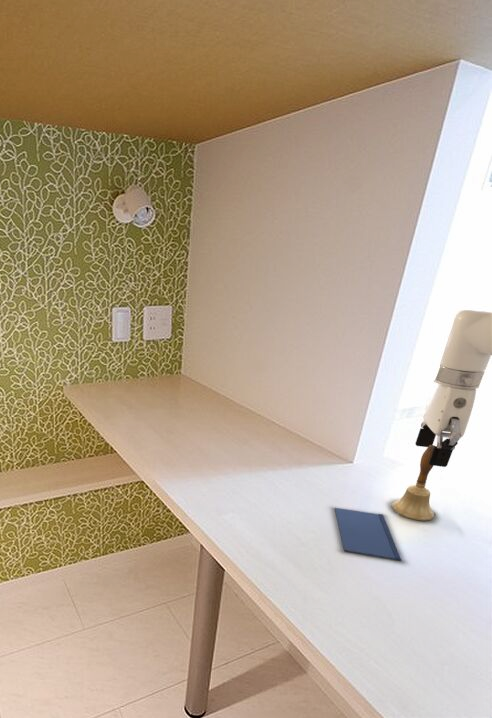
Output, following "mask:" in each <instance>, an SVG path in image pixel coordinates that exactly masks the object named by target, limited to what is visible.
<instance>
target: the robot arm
mask: <svg viewBox="0 0 492 718" xmlns="http://www.w3.org/2000/svg"><path fill="white" fill-rule="evenodd" d="M491 356H492V309H484V308H482V309H481V308H464V309H461V310H459V311H457V313H456V314H455V316H454V317H453V320H452V323H451V326H450V329H449V332H448V335H447V337H446V340H445V344H444V347H443V350H442V353H441V356H440V359H439V362H438V365H437V369H436V370H435V374H434V377H433V382H434V383H435V384H434V386H433V387H432V390H431V393H430V396H429V399H428V401H427V404H426V407H425V410H424V413H423V416H422V418H423V420H422V422H421V424H420V429H419V431H418V434H417V437H416V440H415V446H416V447H422V448H428V446H429V445H434V442H435V439H436V445H434V448H433V451H432V454H431V457H430V460H429V464H430V465H434V466H433V467H442V468H446V467H447V466H448V464H449V462H450V460H451V456H452V454H453V451H454V450H455V449H456V446H457V445H458V442H459V440H460V439H461V438H463V437H464V435H465V432H466V429H467V426H468V424H469V420H470V417H471V414H472V411H473V407H474V403H475V400H476V394H477V390H478V388H479V387H480V385H481V382H482V380H483V377H484V375H485V372H486V370H487V367H488V364H489V361H490V360H491V359H490V358H491ZM444 438H445V439H444Z"/></svg>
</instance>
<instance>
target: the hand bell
mask: <svg viewBox="0 0 492 718" xmlns="http://www.w3.org/2000/svg"><path fill="white" fill-rule="evenodd" d="M434 446H435V444H433V445H429V446H428V447H426V449H425V450H424V452H423V453H422V455H421V457H420V462H419V469H420V470H419V474H418V477H417V480H416V483H415V484H414V485H409V486H408V487H406V490H405V492H404V493H403V495H402V497H400V498H399V499H396V500H394V501H393V502H392V504H391V508H392V509H393V511H394V512H395V513H397V514H399V515H400V516H402V517H404V518H407V519H410V520H415V521H431V520H432V519H434V517H435V512H434V510H433V509H432V507H431V505H430V504H431V503H430V498H431V491H430V490H429V489H427V488H426V484H427V480H428V475H429V473H430V471H431V470H432V469H433V467H435V466H434V465H430V464H429V460H430V457H431V454H432V451H433V448H434Z"/></svg>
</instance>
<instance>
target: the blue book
mask: <svg viewBox="0 0 492 718" xmlns="http://www.w3.org/2000/svg"><path fill="white" fill-rule="evenodd" d="M334 512H335V516H336V521H337V525H338V530H339V534H340V539H341V543H342V547H343V551H344V552H347V553H353V554H360V555H366V556H372V557H377V558H384V559H389V560H395V561H401V562H402V558H401V555H400V553H399V551H398V548H397V546H396V542H395V540H394V538H393V536H392V533H391V531H390V528H389V526H388V523H387V520H386V518H385V516H384V514H383V513H374V512H373V513H372V512H367V511H366V512H365V511H359V510H353V509H346V508H338V507H334Z"/></svg>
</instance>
